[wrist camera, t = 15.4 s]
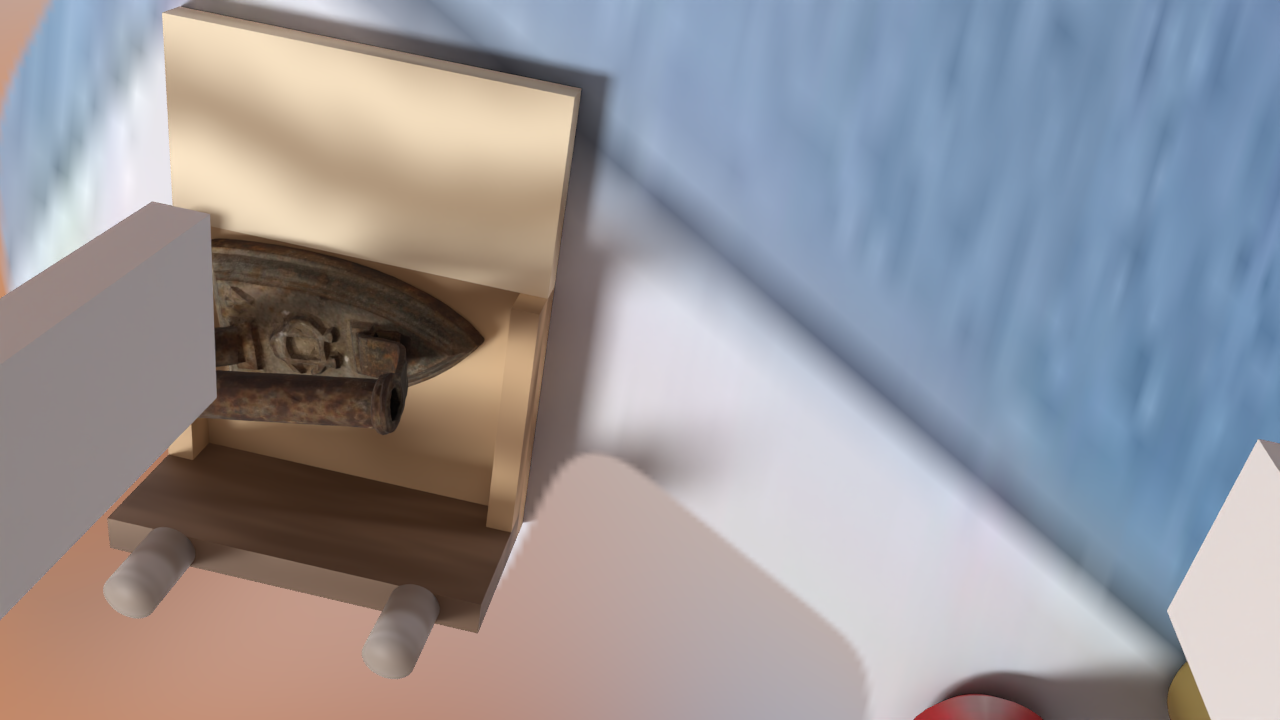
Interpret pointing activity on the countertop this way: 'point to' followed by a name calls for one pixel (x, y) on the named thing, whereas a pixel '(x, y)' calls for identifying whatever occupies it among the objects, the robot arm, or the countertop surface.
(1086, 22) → the countertop surface
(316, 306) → the clothes iron
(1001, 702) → the liquor
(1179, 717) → the paper tube
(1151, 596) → the countertop surface
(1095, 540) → the countertop surface
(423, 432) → the cradle
